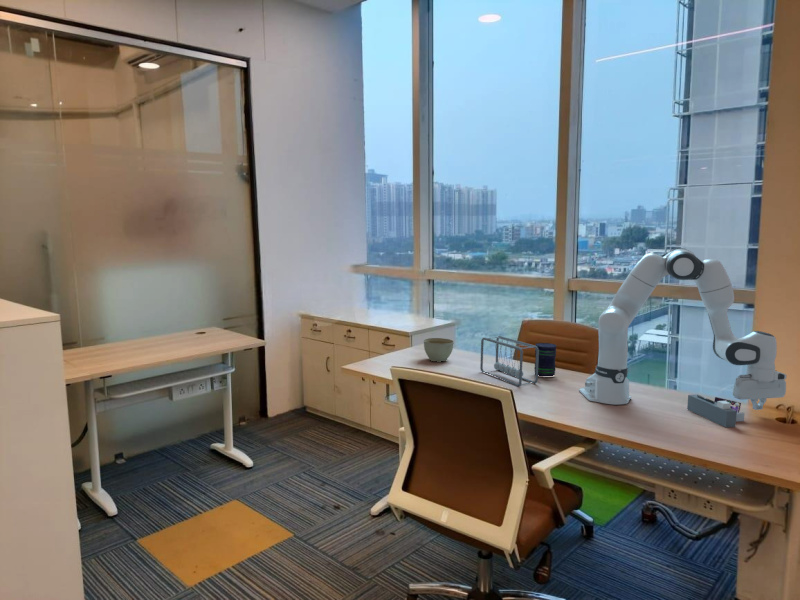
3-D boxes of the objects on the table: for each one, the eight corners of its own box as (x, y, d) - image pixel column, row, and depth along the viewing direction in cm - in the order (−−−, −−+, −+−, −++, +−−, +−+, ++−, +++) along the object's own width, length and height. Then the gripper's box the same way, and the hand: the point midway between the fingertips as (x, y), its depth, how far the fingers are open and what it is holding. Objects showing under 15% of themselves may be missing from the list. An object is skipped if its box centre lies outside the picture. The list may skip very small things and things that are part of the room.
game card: (714, 396, 211) (740, 402, 204) (719, 398, 214) (745, 404, 207) (710, 413, 210) (736, 420, 203) (715, 415, 214) (741, 422, 207)
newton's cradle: (537, 384, 248) (539, 346, 246) (520, 387, 244) (521, 348, 241) (496, 369, 275) (497, 335, 272) (479, 372, 270) (480, 336, 268)
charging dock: (687, 409, 216) (688, 389, 215) (713, 408, 218) (715, 388, 217) (725, 427, 196) (727, 405, 195) (754, 425, 198) (756, 404, 197)
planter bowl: (444, 365, 282) (444, 345, 280) (417, 361, 290) (417, 341, 289) (458, 359, 295) (459, 340, 294) (432, 355, 304) (433, 336, 302)
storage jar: (558, 377, 261) (560, 346, 259) (538, 378, 260) (540, 347, 258) (550, 372, 271) (551, 342, 269) (531, 372, 269) (532, 343, 268)
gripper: (743, 377, 202) (740, 413, 204) (790, 374, 206) (787, 410, 208) (730, 372, 209) (727, 408, 210) (776, 370, 212) (773, 405, 214)
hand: (757, 409), depth 209 cm, fingers closed
